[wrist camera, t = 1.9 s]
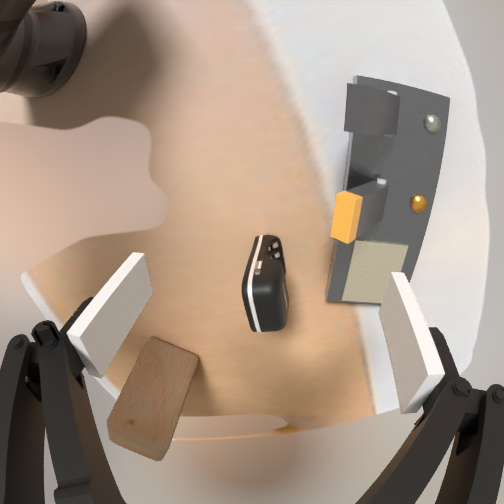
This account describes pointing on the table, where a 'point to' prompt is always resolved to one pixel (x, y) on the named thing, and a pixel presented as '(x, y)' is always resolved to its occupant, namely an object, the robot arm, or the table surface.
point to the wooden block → (152, 399)
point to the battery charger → (265, 286)
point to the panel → (391, 194)
